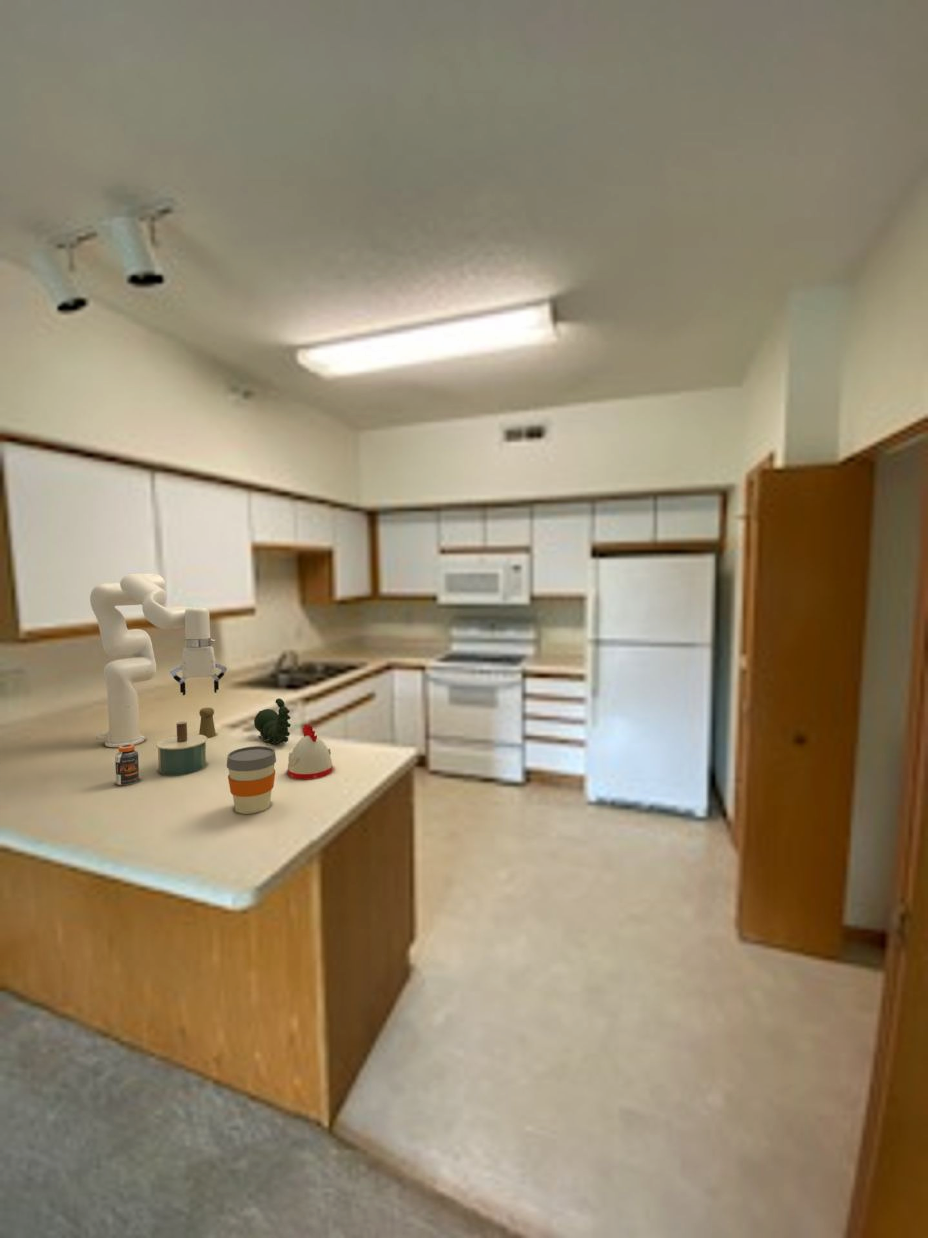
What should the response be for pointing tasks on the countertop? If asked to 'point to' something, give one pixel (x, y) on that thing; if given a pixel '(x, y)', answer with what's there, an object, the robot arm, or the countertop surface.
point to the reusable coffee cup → (251, 778)
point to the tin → (182, 760)
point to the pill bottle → (127, 765)
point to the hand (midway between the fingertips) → (200, 693)
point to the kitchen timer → (309, 757)
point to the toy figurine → (273, 723)
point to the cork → (207, 722)
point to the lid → (181, 739)
